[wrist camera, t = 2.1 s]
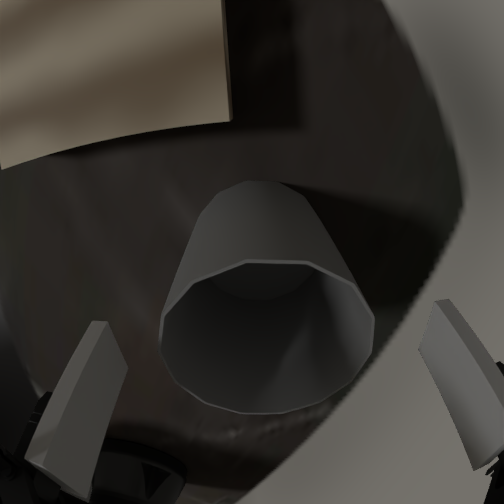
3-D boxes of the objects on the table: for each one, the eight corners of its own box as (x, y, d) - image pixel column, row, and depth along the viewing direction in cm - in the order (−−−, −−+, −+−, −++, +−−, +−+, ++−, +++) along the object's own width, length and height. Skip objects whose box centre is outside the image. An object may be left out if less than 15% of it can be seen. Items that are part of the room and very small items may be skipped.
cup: (296, 159, 18) (348, 218, 9) (337, 269, 21) (386, 378, 12) (172, 214, 19) (114, 310, 10) (227, 310, 22) (219, 427, 14)
